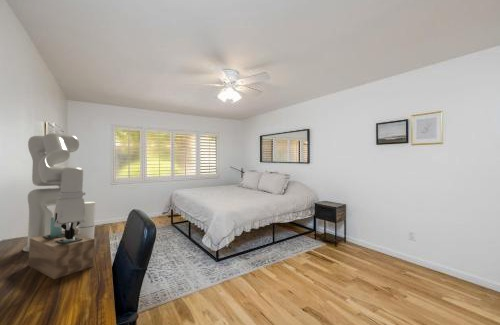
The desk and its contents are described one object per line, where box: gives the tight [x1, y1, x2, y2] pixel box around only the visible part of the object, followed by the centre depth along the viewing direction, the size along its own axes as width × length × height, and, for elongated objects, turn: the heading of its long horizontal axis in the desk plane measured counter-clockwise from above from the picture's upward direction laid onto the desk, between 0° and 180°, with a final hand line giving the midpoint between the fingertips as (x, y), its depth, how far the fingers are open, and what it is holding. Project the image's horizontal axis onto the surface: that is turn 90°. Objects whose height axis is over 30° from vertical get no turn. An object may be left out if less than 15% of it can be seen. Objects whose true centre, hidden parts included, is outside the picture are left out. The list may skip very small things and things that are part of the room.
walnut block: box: [27, 231, 95, 280], centre depth 100 cm, size 14×24×12 cm, turn 62°
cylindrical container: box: [77, 201, 97, 240], centre depth 121 cm, size 7×7×25 cm
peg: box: [50, 215, 63, 238], centre depth 103 cm, size 4×4×12 cm
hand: (69, 238), depth 97 cm, fingers closed
